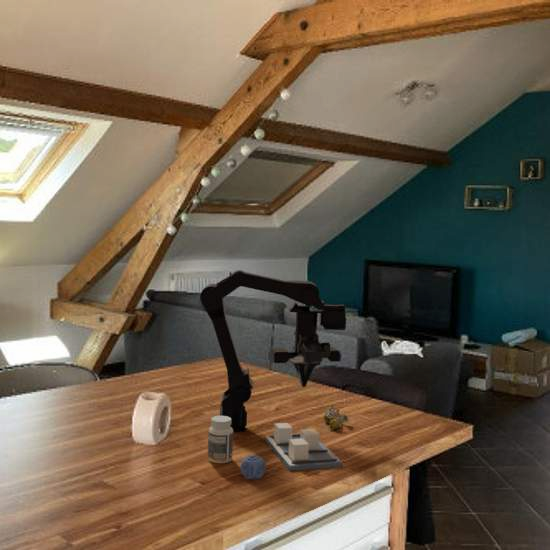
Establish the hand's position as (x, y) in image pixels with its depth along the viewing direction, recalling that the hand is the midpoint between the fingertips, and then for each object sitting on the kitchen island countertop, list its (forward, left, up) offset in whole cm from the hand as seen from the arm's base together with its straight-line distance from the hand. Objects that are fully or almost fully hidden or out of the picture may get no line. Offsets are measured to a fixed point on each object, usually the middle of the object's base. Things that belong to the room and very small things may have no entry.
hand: (303, 386), depth 182 cm
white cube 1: (-9, -22, -11) cm, 26 cm away
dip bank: (-6, -16, -12) cm, 21 cm away
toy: (+12, +5, -12) cm, 18 cm away
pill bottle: (-26, -17, -12) cm, 33 cm away
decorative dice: (-21, -28, -12) cm, 37 cm away
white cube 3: (-8, -10, -11) cm, 17 cm away
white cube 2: (-3, -16, -11) cm, 20 cm away
